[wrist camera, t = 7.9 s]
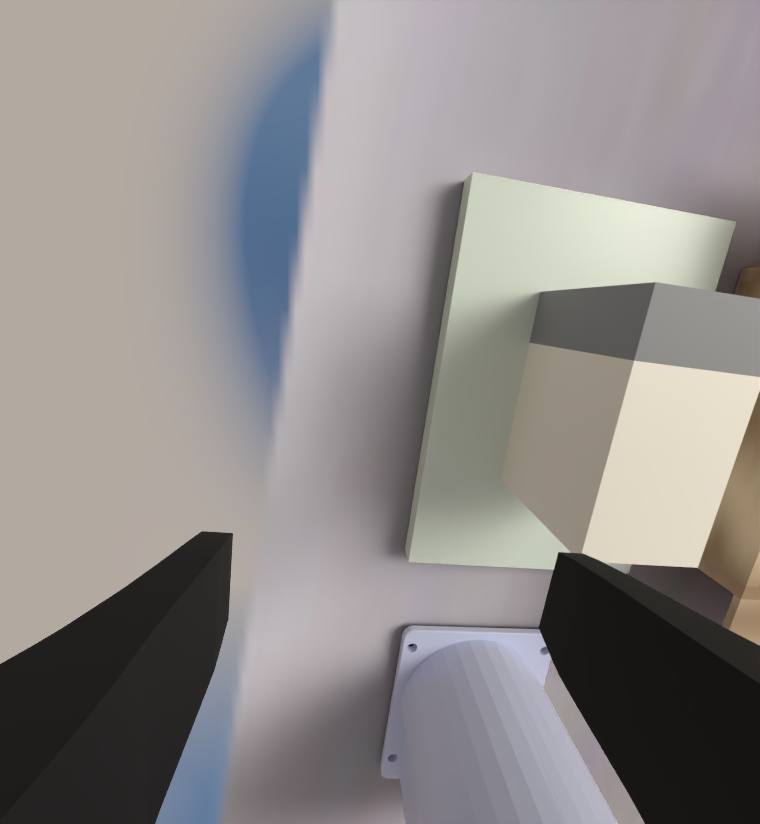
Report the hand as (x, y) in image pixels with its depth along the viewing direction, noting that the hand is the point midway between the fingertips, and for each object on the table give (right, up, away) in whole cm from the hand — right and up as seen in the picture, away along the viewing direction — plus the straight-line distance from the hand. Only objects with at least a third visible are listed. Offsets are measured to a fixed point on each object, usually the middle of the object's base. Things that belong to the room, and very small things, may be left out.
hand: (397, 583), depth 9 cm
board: (+7, +4, +9) cm, 13 cm away
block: (+7, +4, +8) cm, 12 cm away
